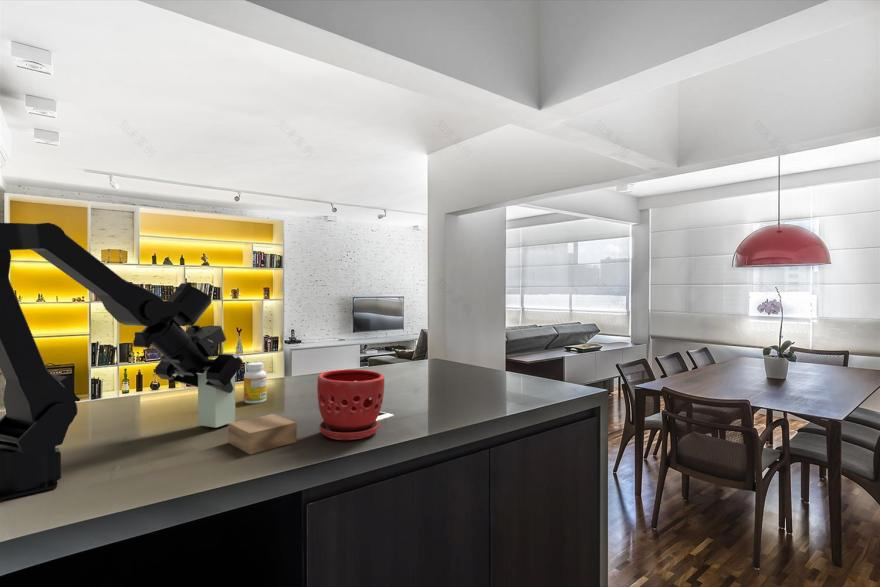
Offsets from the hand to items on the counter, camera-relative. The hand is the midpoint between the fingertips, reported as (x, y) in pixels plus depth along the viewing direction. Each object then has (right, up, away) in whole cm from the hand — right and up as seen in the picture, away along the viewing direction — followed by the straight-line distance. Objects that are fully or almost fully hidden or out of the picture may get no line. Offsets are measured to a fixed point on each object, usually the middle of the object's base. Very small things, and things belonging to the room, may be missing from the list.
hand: (222, 390), depth 98 cm
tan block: (+13, -8, -12) cm, 19 cm away
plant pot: (+29, -7, -7) cm, 31 cm away
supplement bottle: (-1, -7, +20) cm, 21 cm away
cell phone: (+27, -8, +8) cm, 30 cm away
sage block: (0, -7, -1) cm, 7 cm away
